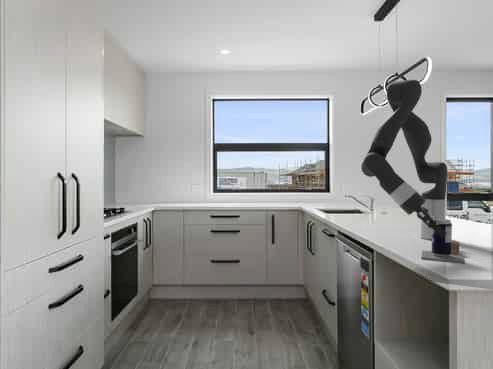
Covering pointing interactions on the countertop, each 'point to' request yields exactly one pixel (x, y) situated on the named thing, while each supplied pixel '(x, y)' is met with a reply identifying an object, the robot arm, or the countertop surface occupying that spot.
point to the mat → (451, 258)
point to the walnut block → (454, 247)
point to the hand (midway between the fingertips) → (444, 233)
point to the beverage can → (442, 239)
